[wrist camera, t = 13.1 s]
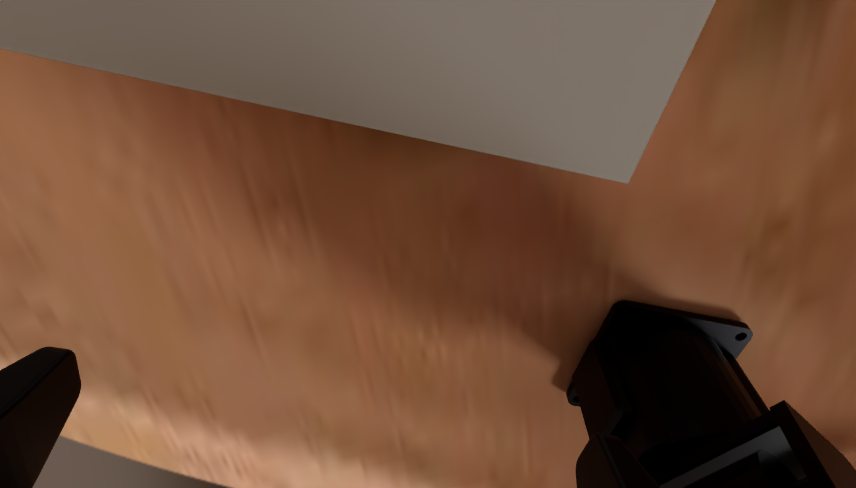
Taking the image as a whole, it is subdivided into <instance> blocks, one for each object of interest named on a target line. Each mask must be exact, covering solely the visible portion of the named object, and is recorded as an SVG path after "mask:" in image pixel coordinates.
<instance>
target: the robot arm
mask: <svg viewBox="0 0 856 488" xmlns="http://www.w3.org/2000/svg"><path fill="white" fill-rule="evenodd" d="M623 311H627V312H626V313H623V314H620V313H621V312H623ZM738 333H740V334H738ZM752 336H753V332H752V331H751V330H750V328H749V327H748V326H747V324H745V323H743V322H738V321H732V320H727V319H722V318H717V317H711V316H706V315H701V314H695V313H690V312H685V311H680V310H674V309H669V308H664V307H658V306H653V305H648V304H643V303H637V302H632V301H619V302H617V303H615V304H614V305H613V306H612V308H611V310H610V312H609V313H608V315H607V317H606V319H605V321H604V323H603V325H602V326H601V328H600V330H599V332H598V334H597V336H596V338H595V339H593V340H592V341H591V342H590V344H589V346H588V348H587V350H586V352H585V354H584V355H583V357H582V359H581V361H580V363H579V365H578V367H577V369H576V370H575V372H574V374H573V376H572V382H571V384H570V386H569V388H568V390H567V392H566V395H567V399H568V402H569V403H570V404H571V405H574V406H580V407H581V411H582V414H583V418H584V421H585V425H586V428H587V432H588V435H589V439H590V440H589V441H588V443H587V445H586V446H585V448H584V449H583V451H582V453H581V454H580V456H579V458H578V460H577V463H576V482H577V488H856V470H855V469H854V468H853V466H852V465H851V464H850V462H849V461H848V460H847V459H846V458H845V456H844V455H843V454H842V453H840V452H839V451H838V450H837V449H836V448H835V447H834V446H833V445H832V444H831V443H830V442H829V441H828V440H827V439H825V438H824V437H823V436H822V435H821V434H820V433H819V432H818V431H817V430H816V429H815V428H814V427H813V426H812V425H810V424H809V423H808V422H807V421H806V420H805V419H804V418H803V417H802V416H801V415H800V414H799V413H798V412H797V411H796V410H794V409H793V408H792V407H791V406H790V405H789V404H788V403H787V402H786V401H785V400H783V401H781V402H779V403H777V404H776V405H774V406H772V407H770V411H769V409H768V408H767V406H766V405H765V403H764V402H763V400H762V399H761V397H760V396H759V394H758V393H757V391H756V390H755V388H754V387H753V385H752V384H751V382H750V381H749V379H748V378H747V376H746V375H745V373H744V371H743V370H742V368H741V367H740V365H739V364H738V362H737V361H736V358H737V357H738V355H739V354H740V353H741V351H742V350H743V349H744V347H745V346H746V345H747V343H748V342H749V341H750V339H751V338H752ZM80 390H81V380H80V375H79V370H78V365H77V360H76V356H75V354H74V352H73V351H72V350H69V349H62V348H56V347H44V348H41V349H39V350H37V351H35V352H33V353H31V354H29V355H28V356H26V357H24V358H22V359H20V360H18V361H17V362H15V363H13V364H11V365H9V366H7V367H6V368H4V369H2V370H0V488H32V487H33V485H34V483H35V482H36V480H37V478H38V476H39V474H40V472H41V470H42V468H43V466H44V464H45V463H46V460H47V458H48V457H49V455H50V453H51V450H52V449H53V447H54V445H55V443H56V441H57V439H58V437H59V435H60V433H61V431H62V429H63V427H64V425H65V423H66V421H67V419H68V417H69V415H70V413H71V411H72V409H73V407H74V405H75V403H76V401H77V399H78V397H79V394H80Z"/></svg>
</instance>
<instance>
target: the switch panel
mask: <svg viewBox="0 0 856 488" xmlns="http://www.w3.org/2000/svg"><path fill="white" fill-rule="evenodd" d="M715 2H716V0H0V49H4V50H9V51H13V52H18V53H23V54H27V55H32V56H37V57H41V58H46V59H51V60H55V61H60V62H65V63H69V64H74V65H78V66H83V67H88V68H92V69H97V70H102V71H106V72H111V73H116V74H120V75H125V76H130V77H134V78H139V79H144V80H148V81H153V82H158V83H162V84H167V85H171V86H176V87H181V88H185V89H190V90H195V91H199V92H204V93H209V94H213V95H218V96H223V97H227V98H232V99H237V100H241V101H246V102H251V103H255V104H260V105H264V106H269V107H274V108H278V109H283V110H288V111H292V112H297V113H302V114H306V115H311V116H316V117H320V118H325V119H330V120H334V121H339V122H343V123H348V124H353V125H357V126H362V127H367V128H371V129H376V130H381V131H385V132H390V133H395V134H399V135H404V136H409V137H413V138H418V139H423V140H427V141H432V142H436V143H441V144H446V145H450V146H455V147H460V148H464V149H469V150H474V151H478V152H483V153H488V154H492V155H497V156H502V157H506V158H511V159H516V160H520V161H525V162H529V163H534V164H539V165H543V166H548V167H553V168H557V169H562V170H567V171H571V172H576V173H581V174H585V175H590V176H595V177H599V178H604V179H609V180H613V181H618V182H622V183H627V184H628V183H629V181H630V179H631V177H632V175H633V173H634V171H635V169H636V166H637V164H638V162H639V160H640V158H641V156H642V154H643V152H644V150H645V148H646V146H647V143H648V141H649V139H650V137H651V135H652V133H653V131H654V129H655V127H656V125H657V123H658V121H659V118H660V116H661V114H662V112H663V110H664V108H665V106H666V104H667V102H668V100H669V98H670V96H671V93H672V91H673V89H674V87H675V85H676V83H677V81H678V79H679V77H680V75H681V73H682V70H683V68H684V66H685V64H686V62H687V60H688V58H689V56H690V54H691V52H692V50H693V48H694V45H695V43H696V41H697V39H698V37H699V35H700V33H701V31H702V29H703V27H704V25H705V22H706V20H707V18H708V16H709V14H710V12H711V10H712V8H713V6H714V4H715Z"/></svg>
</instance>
